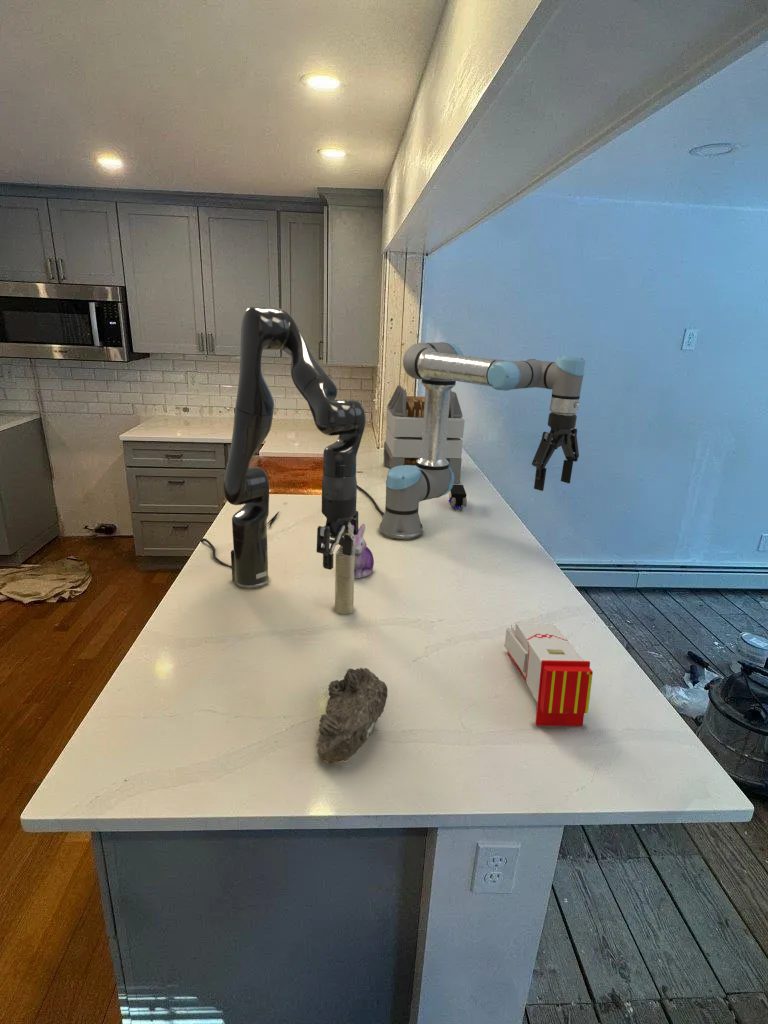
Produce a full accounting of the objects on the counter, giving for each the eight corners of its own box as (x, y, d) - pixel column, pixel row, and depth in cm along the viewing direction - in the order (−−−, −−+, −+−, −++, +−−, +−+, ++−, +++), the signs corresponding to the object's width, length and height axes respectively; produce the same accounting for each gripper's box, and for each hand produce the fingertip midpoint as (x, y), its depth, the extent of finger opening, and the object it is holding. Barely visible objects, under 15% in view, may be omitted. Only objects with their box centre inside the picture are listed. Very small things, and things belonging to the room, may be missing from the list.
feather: (286, 506, 225) (288, 502, 225) (268, 529, 199) (271, 525, 198) (282, 503, 225) (284, 499, 225) (264, 526, 199) (267, 522, 198)
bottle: (344, 603, 152) (346, 531, 145) (356, 610, 149) (359, 536, 141) (331, 609, 148) (331, 536, 141) (343, 616, 145) (344, 541, 138)
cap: (345, 539, 145) (346, 530, 144) (356, 543, 142) (356, 535, 141) (334, 543, 142) (334, 534, 141) (344, 547, 140) (345, 539, 139)
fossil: (321, 669, 117) (379, 637, 112) (350, 699, 119) (408, 669, 114) (296, 756, 97) (365, 723, 92) (332, 790, 100) (400, 759, 95)
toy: (550, 607, 134) (601, 667, 105) (545, 659, 137) (594, 732, 108) (499, 606, 134) (537, 666, 104) (495, 659, 137) (530, 731, 107)
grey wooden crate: (382, 463, 289) (386, 382, 275) (445, 464, 293) (451, 384, 279) (390, 482, 257) (394, 392, 243) (460, 483, 261) (468, 394, 247)
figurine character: (467, 515, 225) (461, 499, 238) (469, 498, 221) (463, 482, 235) (450, 514, 224) (445, 498, 238) (452, 497, 221) (447, 482, 234)
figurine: (352, 582, 163) (353, 533, 158) (338, 567, 172) (338, 521, 166) (381, 576, 167) (383, 529, 162) (366, 562, 176) (367, 517, 171)
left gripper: (340, 482, 130) (339, 547, 135) (306, 498, 118) (306, 569, 123) (369, 487, 127) (367, 554, 132) (337, 505, 115) (336, 577, 120)
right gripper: (548, 419, 148) (537, 496, 155) (598, 411, 163) (586, 482, 171) (525, 414, 153) (515, 489, 160) (575, 407, 169) (564, 476, 176)
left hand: (338, 561), depth 128 cm, fingers open, 8 cm apart
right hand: (552, 485), depth 166 cm, fingers open, 13 cm apart
